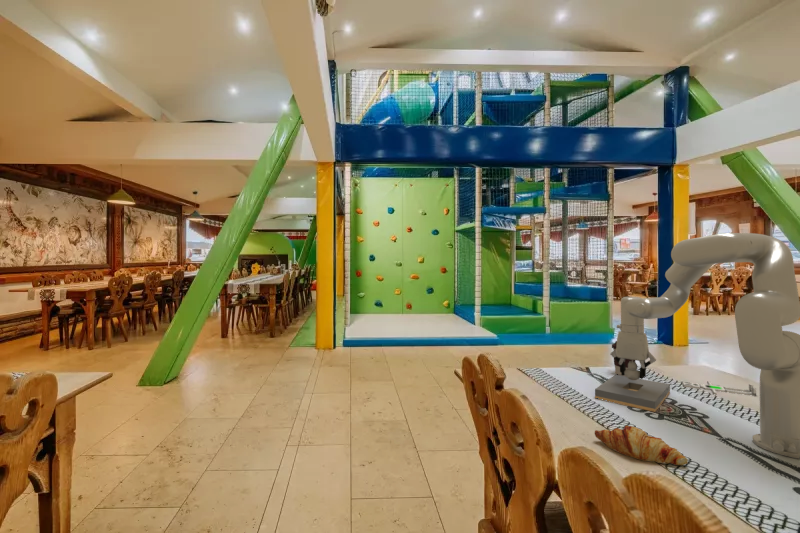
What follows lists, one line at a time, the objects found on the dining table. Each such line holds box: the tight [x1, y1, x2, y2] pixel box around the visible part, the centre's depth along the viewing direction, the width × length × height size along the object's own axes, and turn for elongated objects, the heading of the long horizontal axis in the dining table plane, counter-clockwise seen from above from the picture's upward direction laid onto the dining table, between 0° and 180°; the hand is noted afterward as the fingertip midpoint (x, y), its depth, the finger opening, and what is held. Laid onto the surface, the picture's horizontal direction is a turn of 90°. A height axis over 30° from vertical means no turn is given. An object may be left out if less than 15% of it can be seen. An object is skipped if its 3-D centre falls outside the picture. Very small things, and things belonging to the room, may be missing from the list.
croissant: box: [594, 425, 689, 466], centre depth 99 cm, size 21×10×8 cm, turn 48°
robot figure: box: [681, 381, 757, 397], centre depth 149 cm, size 16×3×22 cm
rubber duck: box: [624, 360, 641, 380], centre depth 143 cm, size 5×7×8 cm
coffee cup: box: [611, 340, 636, 376], centre depth 170 cm, size 10×10×15 cm
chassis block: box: [594, 374, 671, 413], centre depth 142 cm, size 26×19×4 cm
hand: (632, 375), depth 142 cm, fingers closed on rubber duck, 5 cm apart
